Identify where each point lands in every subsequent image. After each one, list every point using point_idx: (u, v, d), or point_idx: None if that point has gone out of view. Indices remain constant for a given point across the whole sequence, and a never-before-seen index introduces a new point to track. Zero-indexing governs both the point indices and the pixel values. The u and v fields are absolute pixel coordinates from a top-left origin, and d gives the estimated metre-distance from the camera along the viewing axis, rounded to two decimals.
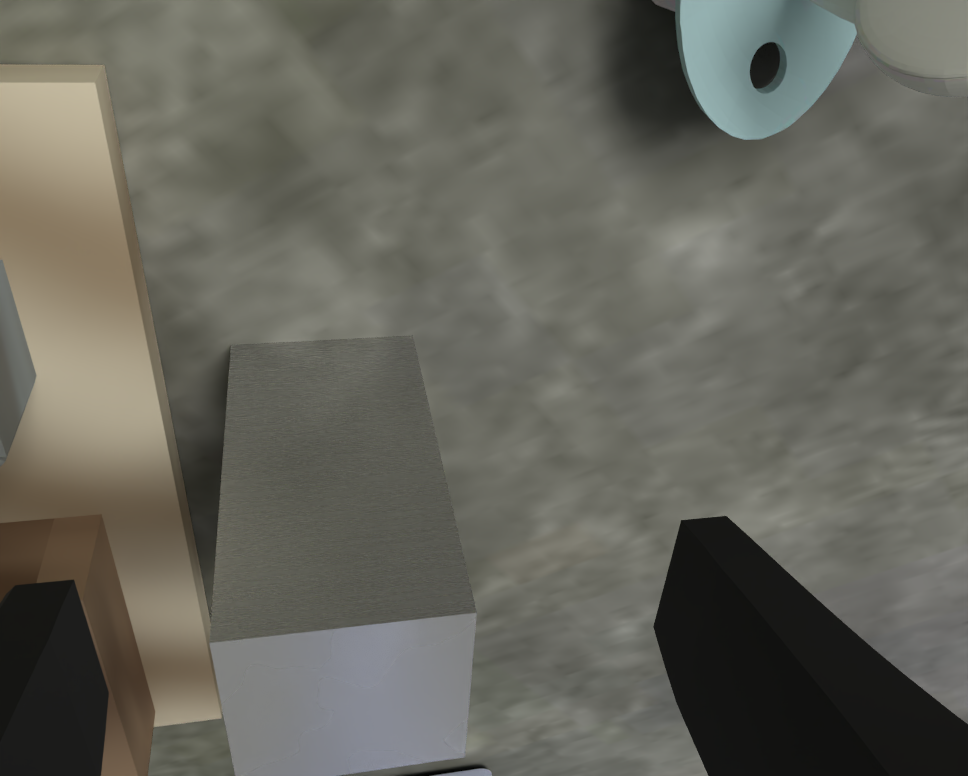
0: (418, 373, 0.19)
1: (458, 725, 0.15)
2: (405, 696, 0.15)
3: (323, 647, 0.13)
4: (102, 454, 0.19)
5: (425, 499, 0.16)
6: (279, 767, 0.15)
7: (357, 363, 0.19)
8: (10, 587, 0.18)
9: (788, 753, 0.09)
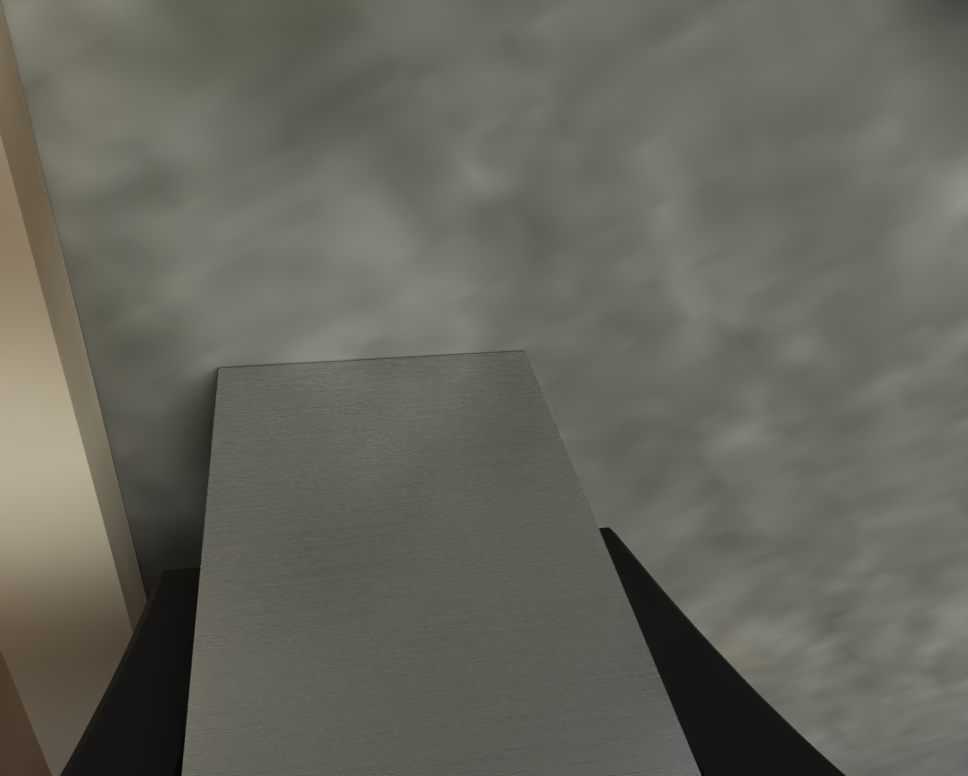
0: (547, 418, 0.11)
1: None
2: None
3: None
4: None
5: (615, 693, 0.08)
6: None
7: (440, 400, 0.11)
8: None
9: None
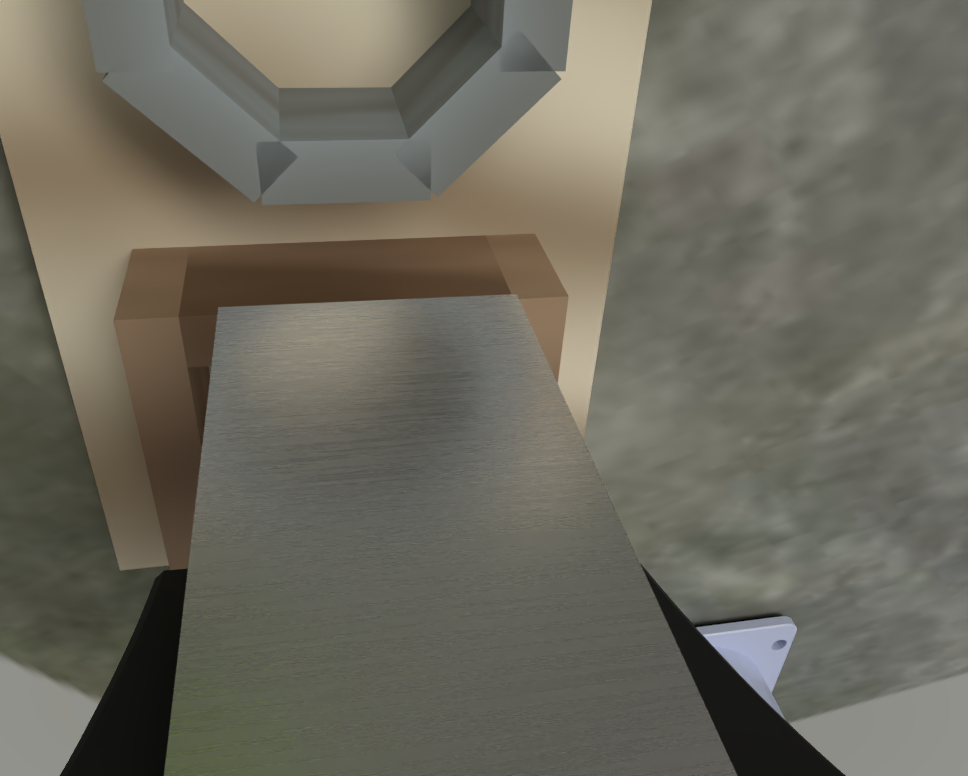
0: (537, 351, 0.11)
1: None
2: None
3: None
4: (560, 149, 0.17)
5: (598, 582, 0.08)
6: None
7: (432, 335, 0.11)
8: (480, 285, 0.16)
9: None
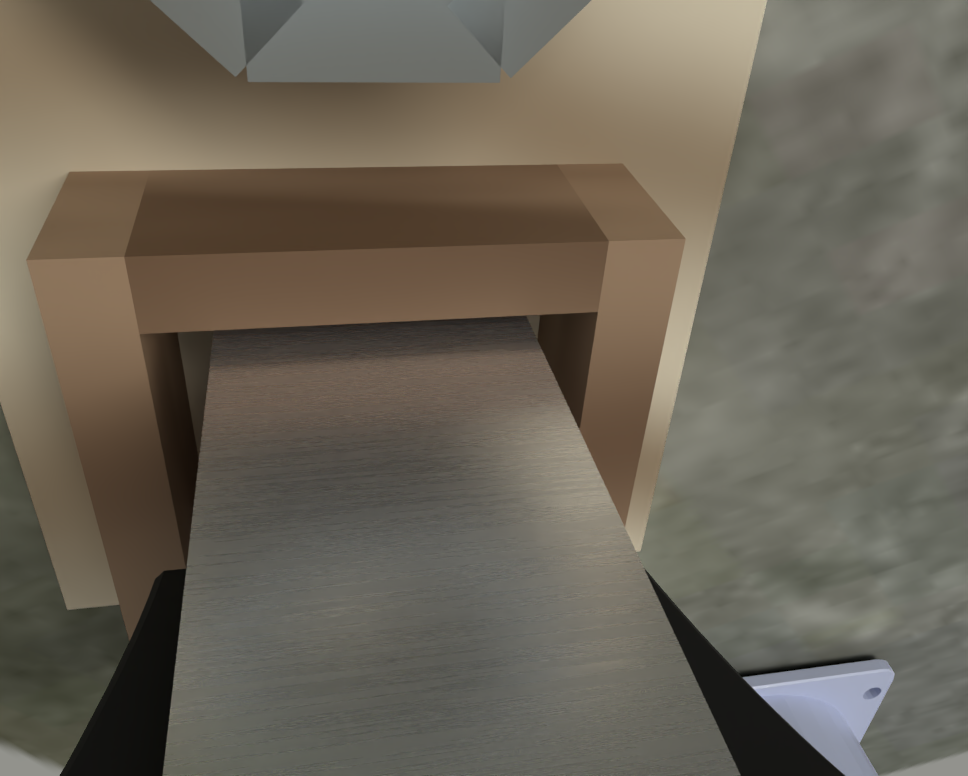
0: (535, 346, 0.11)
1: None
2: None
3: None
4: (665, 40, 0.12)
5: (597, 573, 0.08)
6: None
7: (431, 331, 0.11)
8: (559, 223, 0.11)
9: None
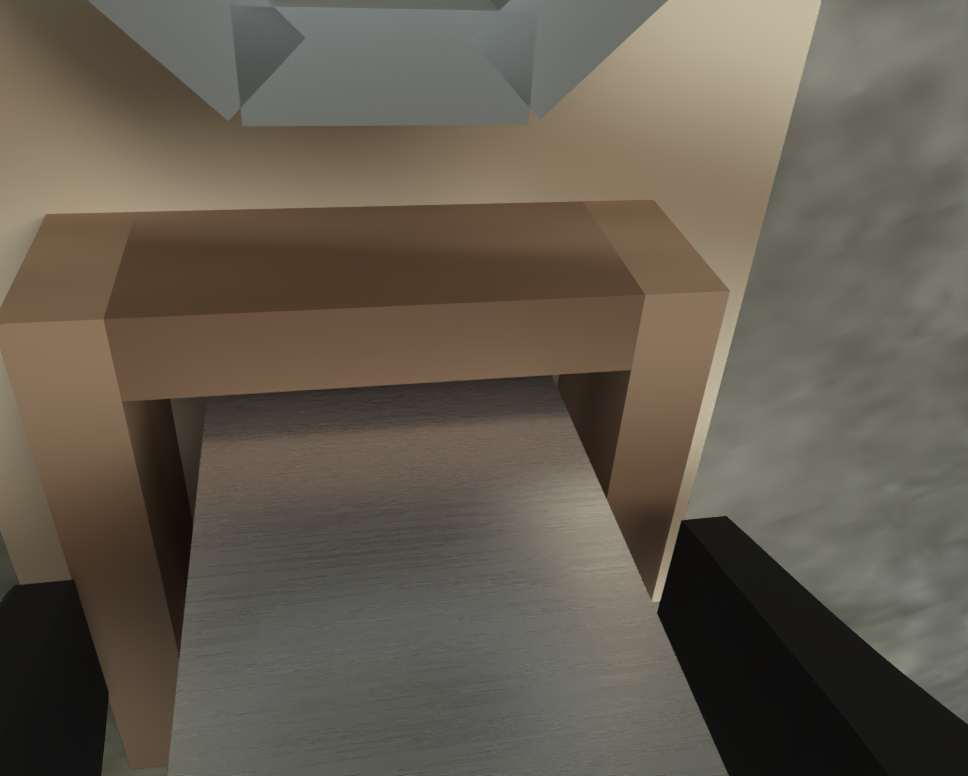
0: None
1: None
2: None
3: None
4: (703, 67, 0.11)
5: (595, 586, 0.08)
6: None
7: None
8: (589, 273, 0.10)
9: (788, 752, 0.09)
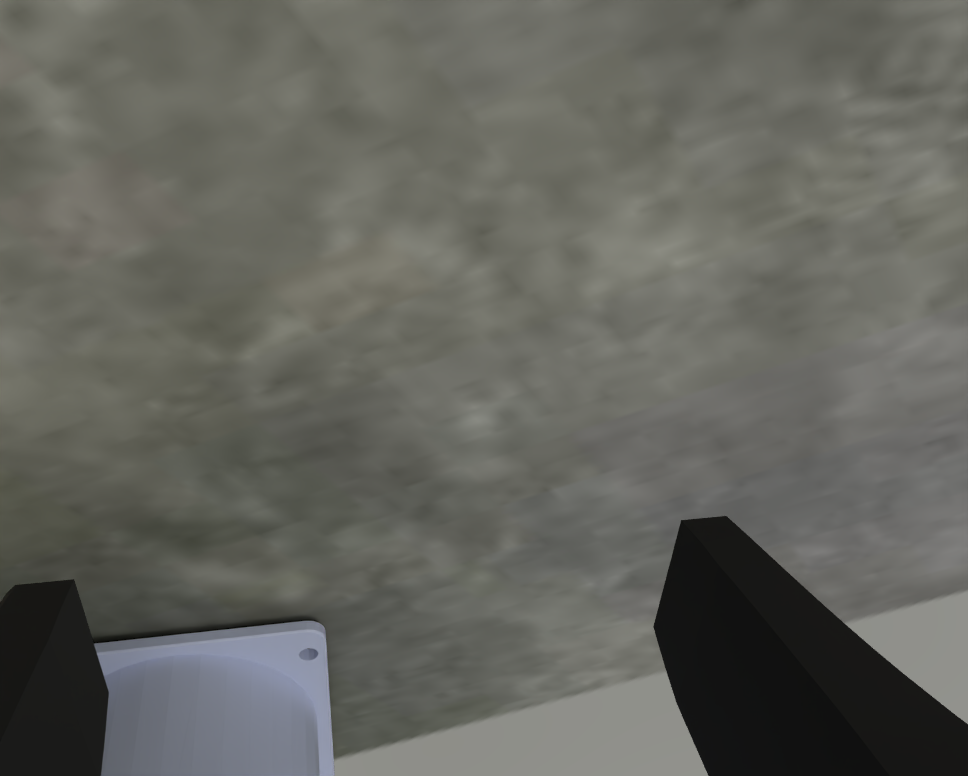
0: None
1: None
2: None
3: None
4: None
5: None
6: None
7: None
8: None
9: (788, 753, 0.09)
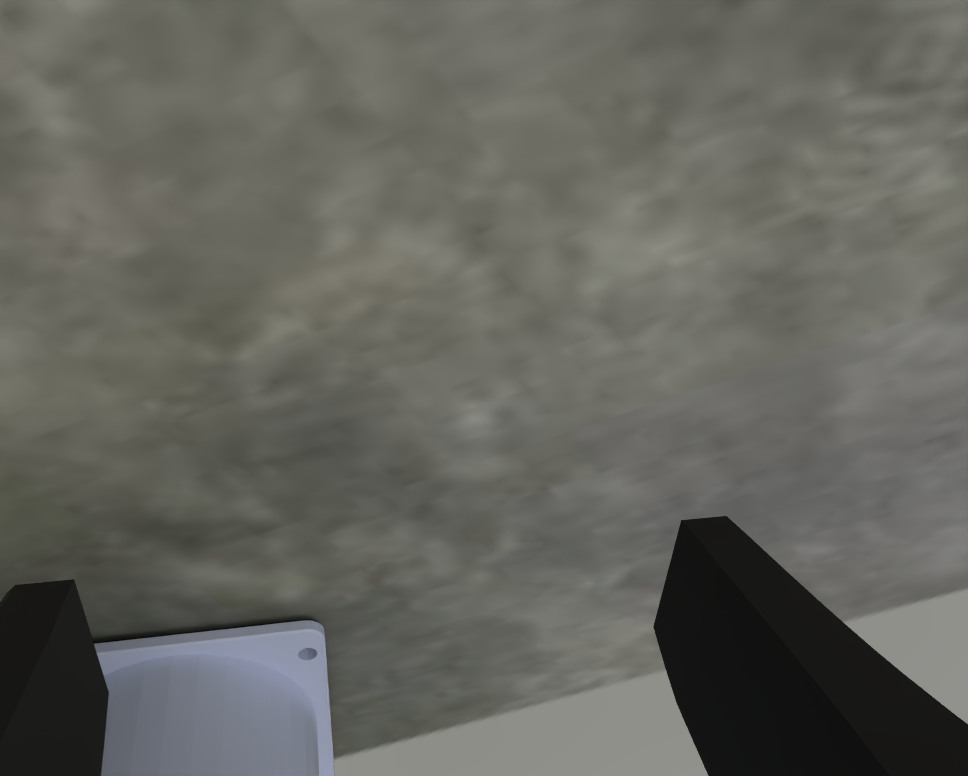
0: None
1: None
2: None
3: None
4: None
5: None
6: None
7: None
8: None
9: (788, 753, 0.09)
